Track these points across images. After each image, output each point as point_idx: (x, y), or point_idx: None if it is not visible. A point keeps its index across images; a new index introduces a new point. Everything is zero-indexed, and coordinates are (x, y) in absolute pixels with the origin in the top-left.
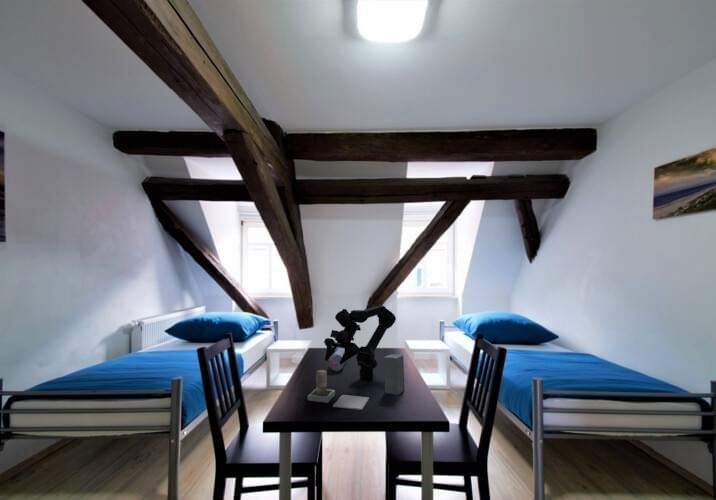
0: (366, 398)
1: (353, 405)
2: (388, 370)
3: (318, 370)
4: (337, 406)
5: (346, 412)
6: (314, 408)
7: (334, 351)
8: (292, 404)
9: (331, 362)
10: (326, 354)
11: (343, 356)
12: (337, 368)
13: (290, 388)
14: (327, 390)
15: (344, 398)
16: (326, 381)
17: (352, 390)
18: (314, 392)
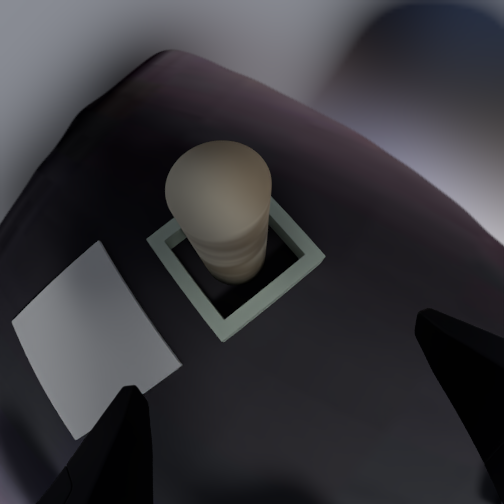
0: (71, 421)
1: (45, 317)
2: None
3: (269, 174)
4: (82, 254)
5: (34, 259)
6: (144, 170)
7: (500, 491)
8: (245, 117)
9: None
10: (483, 337)
11: (75, 465)
12: None
13: (437, 189)
14: (250, 299)
15: (128, 340)
16: (191, 243)
17: (224, 459)
18: (274, 221)
